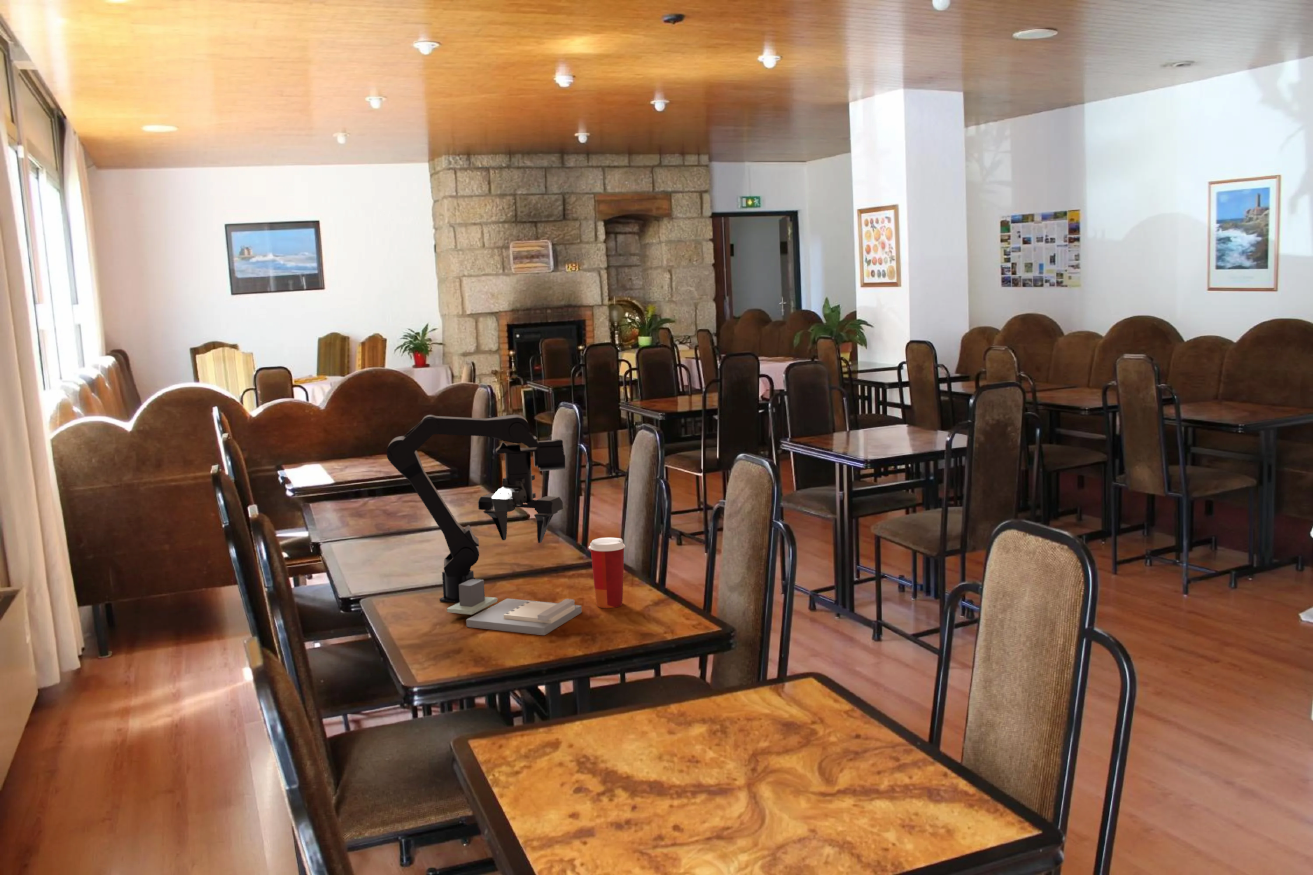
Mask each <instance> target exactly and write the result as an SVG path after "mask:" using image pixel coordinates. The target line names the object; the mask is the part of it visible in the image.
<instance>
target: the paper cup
mask: <svg viewBox="0 0 1313 875" xmlns="http://www.w3.org/2000/svg"><path fill="white" fill-rule="evenodd" d="M625 548H626V545H625V544H624V540H623V539H622V538H619V537H610V536H609V537H599V538H595V539H592V541H591V542H590V543H589V546H588V549H589V550H590V555H591V557H590V558H591V566H592V576H593V578H592V579H593V584H594V594H595V595H594V596H595V603H596V604H595V605H596V607H597V608H601V609H615V608H619V607H622V605H623V598H624V566H625V564H624V563H625Z"/></svg>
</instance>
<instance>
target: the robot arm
mask: <svg viewBox="0 0 1313 875" xmlns="http://www.w3.org/2000/svg"><path fill="white" fill-rule="evenodd" d="M433 435H446V436H447V435H448V436H469V437H470V436H473V437H487V438H488V437H489V438H492V439H494V440H499V441H501V442H500V445H499V446H498V447H497V448H496V449H495V452H496V454H498V455H500V454H501V455H502V454H504V468H505V469H504V471H505V477H503V478H502V481H501V483H502V484H501V487H500V488H498V489H497V491H495V493H492V492H491V493H488V494H486V495H485V494H484V495H482V496H480V497H479V499H478V500H477V508H478V510H479V511H483V514H485V515H486V514H487V515H488V516H489V517H490V518H492V521H493V522H494V524H495V526H496V527H495V528H496V529H497V532H498V533H499V536H500V538H501V540H502V541H506V540H507V534H508V513H509V512H513V511H515V510H516V508H522V509H525V508H526V509H534V510H535V511H536V513H535V514H533V515H534V518H535V519H536V537H537V538H536V539H537V542H538V544H541V543H542V542H543V540H544V537H545V536H546V532H547V529H548V527H549V525H550V522H551V521H552V519H553V516H554V515H556V514H558V512H560V511H561V510H563V509H564V505H563V504H564V503H563V502H564V501H563V500H562V499H561V497H560V496H549V495H547V496H543V497H540V498H538V499H536V498H537V493H536V492H533V481H534V480H535V479H536V474H532V473H533V472H532V457H533V466H534V468H535V467H537V468H538V469H539V472H541V471H545V472H546V471H548V472H549V471H561V470H562V471H563V470H564V471H565V470H566V455H565V451H564V441H563V439H562V438H555V439H551V440H538V438H537V437H536V436H535V435H533V433H532V432H531V426H530V425H529V422H528V420H527V419H526V418H525V416H523V415H520V414H508V415H501V416H496V417H495V416H494V417H489V418H481V417H479V418H478V417H462V416H461V417H460V416H444V415H443V416H441V415H439V416H438V415H434V414H427V415H424V417H423V418H422V420H420V422H418V424H416V425H415V426H414V427H412V428H411V429H410V430H409V431H408V432H406V433H405V434H404V435H401V436H396V437H394V438H392V440H390V442H389V443H388V446H387V449H386V457H387V460H388V462H390V464H391V465H392V466H393V467H394V468H395V469H396V470H397V471H398V472H399V473H400V474H401V475H402V476H403V477H404V478H405V479H407V480H408V482H410V485H411V486H412V487H413V489H414V491H415V492H416V494H417V495H418V497H419V498H420V500H421V501H422V503H423V505H424V506H425V508H426V509H427V511H428V512H429V514H430V515H431V517H432V518H433V519H434V521H435V523H436V524H437V526H438V527H439V529H440V531H441V532H442V534H443V536H444V539H445V542H446V545H447V547H448V550H449V553H448V554H447V556H446V557H445V558H443V571H442V572H441V576H442V577H441V579H442V592H443V593H442V595H443V596H441V597H440V598H439V599H438V600H439V601H440V602H447V603H448V602H449V603H455V604H457V603H459V602H460V600H459V584H461V583H464V582H466V581H468V580H470V579H476V578H475V576H474V574H475V573H474V572H475V571H474V570H472V569H471V568H472V567H473V566H474V565H476V564H477V562H478V560H479V557H480V548H479V546H480V541H479V538H478V537H477V536H476V535H475V534H474V532H473V529H472V527H471V526H470V524H468V525H466V526H465V527H464V526H462V525H461V524H460V523H459V522H458V521H457V519H456V518H455V516H454V514H453V513H452V511H451V510H450V509H449V507H448V505H447V504H446V502H445V501H444V499H443V497H442V496H441V495H440V494H441V493H439V492H438V490H437V488H436V487H435V485H434V484H433V482H432V480H431V479H430V477H429V476H428V474H427V472H426V471H425V468H424V466H423V463H422V461H421V457H420V455H419V452H418V450H419V449H420V448H421V447H422V446H423V445H424V444H425V443H426V442H427V441H428V440H429V439H430V438H431V437H432V436H433ZM506 442H508V443H511V444H507V443H506ZM521 444H523V445H525V446H527V447H521ZM531 453H533V454H531ZM532 455H533V456H532Z"/></svg>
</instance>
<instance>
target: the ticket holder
mask: <svg viewBox="0 0 1313 875" xmlns="http://www.w3.org/2000/svg"><path fill="white" fill-rule="evenodd" d="M580 614H582V605H579V604H575V599H573V598H565V599H563V600H562V601H559V602H557V603H556V602H550V601H549V602H548V601H539V600H538V601H536V600H528V599H527V600H526V599H517V598H509V597H508V598H505V599H504V600H501V601H500V602H498V603H497V602H496V604H495V603H494V605H492V606H490V607H487V608H485V609H483V610H481V611H479V612H477V613H475V614H473V616H472V615H471V617H468V618H467V619H466V620H465V622H466V627H467V628H473V629H475V628H476V629H483V630H484V629H485V630H493V631H499V632H501V631H502V632H511V633H519V634H531V635H538V636H539V635H540V636H545V635H547V634H549V633H551V632H552V631H554V630H555V629H558V627H560V626H562V625H564V624H565V623H567V622H569V621H570V620H572V619H573V618H576V616H579V615H580Z"/></svg>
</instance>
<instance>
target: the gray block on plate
mask: <svg viewBox="0 0 1313 875" xmlns="http://www.w3.org/2000/svg"><path fill="white" fill-rule="evenodd" d="M459 600H460V602H459V603H454V604H453V605H451V606H449V607H447V608H446V612H447V613H453V614H461V615H470V616H472V615H475V614H477V613H479V612H481V611H483V610H485V609H487V608H489V606H490V607H491V605H492V606H493V604H494V605H495V603H497V602H498V597H492V596H485V580H484V579H481V578H479V579H477V578H475V579H470V580H468V581H466V582H464V583H461V584H459Z"/></svg>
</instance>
